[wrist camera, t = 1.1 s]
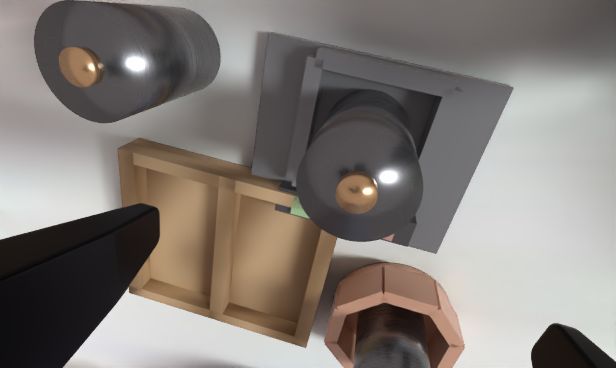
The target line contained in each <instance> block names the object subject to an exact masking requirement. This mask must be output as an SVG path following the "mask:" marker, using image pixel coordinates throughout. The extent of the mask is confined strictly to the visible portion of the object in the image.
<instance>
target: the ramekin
mask: <svg viewBox="0 0 616 368" xmlns="http://www.w3.org/2000/svg"><path fill="white" fill-rule="evenodd" d="M384 302H385V303H388V304H392V305H395V306H399V307H402V308H405V309H409V310H412V311H416V312H419V313H422V314H423V315H424V322H425V330H426V337H427V345H428V352H429V360H430V367H431V368H452V367H453V366H454V364H455V362H456V361H457V359H458V358H459V356H460V354H461V353H462V351H463V350H464V348H465V347H464V341H463V337H462V333H461V329H460V325H459V321H458V317H457V314H456V312H455V311H454V309H453V307H452V306H451V304H450V302H449V299H448V296H447V294H446V292H445V291H444V289H443V288H442V287H441V285H440V284H439V283H438V282H437V281H436V280H435V279H433V278H432V277H431V276H429V275H428V274H426V273H424V272H422V271H420V270H418V269H416V268H413V267H410V266H407V265H402V264H396V263H377V264H371V265H367V266H364V267H361V268H359V269H357V270H355V271H353V272H351V273H350V274H348V275H347V276H346V277H345V278H344V279H343V280H341V282H339V284H338V287H337V289H336V292H335V296H334V300H333V304H332V307H331V310H330V313H329V318H328V324H327V329H326V334H325V340H324V342H325V345H326V346H327V347H328V349H329V350H330V351H331V352H332V354H333V355H334V356H335V357H336V359H337V360H338V361H339V362H340V364H341V365H342V366H343V367H344V368H353V363H354V352H355V340H356V329H357V318H358V311H360V310H363V309H366V308H369V307H372V306H375V305H378V304H381V303H384Z"/></svg>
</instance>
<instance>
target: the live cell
mask: <svg viewBox="0 0 616 368" xmlns="http://www.w3.org/2000/svg"><path fill="white" fill-rule="evenodd" d="M296 189H297V195H298V198H299V202H300V204H301V206H302V208H303V210H304V211H305V213H306V214H307V216H308V217H309V218H310V219H311V220H312V221H313V222H314V223H315V224H316V225H317V226H318V227H319V228H321V229H322V230H324V231H325V232H327V233H329V234H331V235H333V236H335V237H338V238H341V239H345V240H349V241H357V242H366V241H374V240H379V239H383V238H385V237H388V236H390V235H392V234H394V233H396V232H398V231H399V230H401V229H402V228H403V227H404V226H406V225H407V224H408V223H409V222H410V221H411V219H412V218H413V217H414V215H415V214H416V212H417V210H418V208H419V206H420V204H421V200H422V196H423V177H422V172H421V168H420V164H419V160H418V156H417V152H416V148H415V144H414V140H413V136H412V132H411V128H410V124H409V120H408V117H407V114H406V112H405V110H404V108H403V107H402V105H401V104H400V103H399V102H398V101H397V100H396V99H395V98H394V97H392V96H391V95H389V94H387V93H385V92H382V91H379V90H373V89H364V90H358V91H354V92H352V93H349V94H347V95H346V96H344V97H343V98H341V99H340V100H339V101H338V102H337V103H336V104H335V105H334V107H333V108H332V110H331V111H330V113H329V115H328V116H327V118H326V120H325V121H324V123H323V125H322V126H321V128H320V130H319V131H318V133H317V135H316V136H315V138H314V140H313V141H312V143H311V145H310V146H309V148H308V150H307V151H306V153H305V155H304V156H303V158H302V160H301V162H300V165H299V167H298V171H297V177H296Z"/></svg>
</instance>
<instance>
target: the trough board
mask: <svg viewBox="0 0 616 368" xmlns="http://www.w3.org/2000/svg"><path fill="white" fill-rule="evenodd" d="M118 159H119V171H120V183H121V196H122V208H123V207H127V206H131V205H134V204H138V203H144V204H148V205H151V206H155V207H157V208H158V209H159V212H160V238H159V242H158V244H157V246H156V247H155V249H154V250H153V252H152V253H151V255H150V256H149V258H148V259H147V260H146V262H145V263H144V265H143V266H142V268H141V269H140V271H139V272H138V274H137V275H136V277H135V278H134V280H133V281H132V283H131V284H130V286H129V293H132V294H135V295H138V296H141V297H145V298H148V299H151V300H154V301H157V302H161V303H164V304H167V305H170V306H173V307H176V308H180V309H183V310H186V311H189V312H192V313H196V314H199V315H202V316H205V317H208V318H212V319H215V320H218V321H221V322H224V323H228V324H231V325H234V326H237V327H240V328H244V329H247V330H250V331H253V332H256V333H260V334H263V335H266V336H269V337H272V338H276V339H279V340H282V341H285V342H288V343H292V344H295V345H298V346H301V347H304V348H306V346H307V342H308V339H309V335H310V332H311V328H312V325H313V321H314V318H315V314H316V311H317V307H318V304H319V300H320V297H321V293H322V290H323V286H324V283H325V279H326V275H327V272H328V268H329V265H330V261H331V258H332V254H333V251H334V247H335V244H336V240H337V237H335V236H333V235H331V234H329V233H327V232H325V231H324V230H322V229H321V228H319V227H318V226H317V225H316V224H315V223H314V222H313V221H312V220H309V219H305V218H301V217H298V216H294V215H290V214H287V213H283V212H280V211H276V210H275V204H280V205H283V206H287V207H291V208H292V203H293V202H294V201H296V200H297V199H298V198H297V199H296V198H295V197H298V195H295V194H291V193H288V192H284V191H280V190H278V187H279V185H280V184H281V182H279V181H275V180H271V179H267V178H264V177H260V176H256V175H252V174H251V171H252V168H250V167H246V166H242V165H238V164H234V163H231V162H227V161H223V160H219V159H216V158H212V157H208V156H204V155H201V154H197V153H193V152H189V151H185V150H182V149H178V148H174V147H170V146H167V145H163V144H159V143H155V142H152V141H148V140H144V139H140V138H138V139H136V140H134V141H132V142H130V143H128V144H126V145H124V146H122V147H120V148H118ZM294 196H295V197H294ZM294 198H295V199H296V200H294V201H293V199H294ZM264 200H265V201H264ZM296 202H298V205H300V204H299V203H300V202H299V201H296ZM296 202H295V203H296ZM294 205H295V204H294ZM295 206H296V205H295ZM296 207H297V206H296ZM294 209H296V208H294ZM297 209H298V208H297ZM301 209H302V206H301Z"/></svg>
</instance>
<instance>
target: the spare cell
mask: <svg viewBox="0 0 616 368" xmlns="http://www.w3.org/2000/svg"><path fill="white" fill-rule="evenodd" d="M34 47H35V55H36V59H37V63H38V66H39V69H40V71H41V73H42V76H43V78H44V79H45V81H46V83H47V85H48V86H49V88H50V89H51V91H52V92H53V93H54V95H55V96H56V97H57V98H58V99H59V100H60V101H61V102H62V103H63V104H64V105H65V106H66V107H67V108H68V109H70V110H71V111H72V112H74V113H75V114H77V115H79V116H80V117H82V118H85V119H87V120H90V121H93V122H98V123H112V122H116V121H119V120H121V119H124V118H127V117H129V116H132V115H135V114H137V113H140V112H143V111H145V110H148V109H151V108H153V107H156V106H159V105H161V104H164V103H167V102H169V101H172V100H175V99H177V98H180V97H183V96H185V95H188V94H191V93H193V92H196V91H199V90H201V89H204V88H205V87H207V86H208V85H209V84H210V83H212V81H213V80H214V79H215V77H216V75H217V73H218V70H219V66H220V48H219V44H218V41H217V38H216V36H215V33H214V32H213V30H212V28H211V27H210V26H209V24H208V23H207V22H206V21H205V20H204V19H203V18H202V17H201V16H200V15H198V14H197V13H195V12H193V11H191V10H189V9H185V8H180V7H165V6H150V5H136V4H121V3H106V2H91V1H76V0H64V1H60V2H57V3H54V4H52V5H51V6H49V7H48V8H47V9H46V10H45V11H44V12H43V13H42V15H41V16H40V18H39V20H38V22H37V25H36V29H35V36H34Z"/></svg>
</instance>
